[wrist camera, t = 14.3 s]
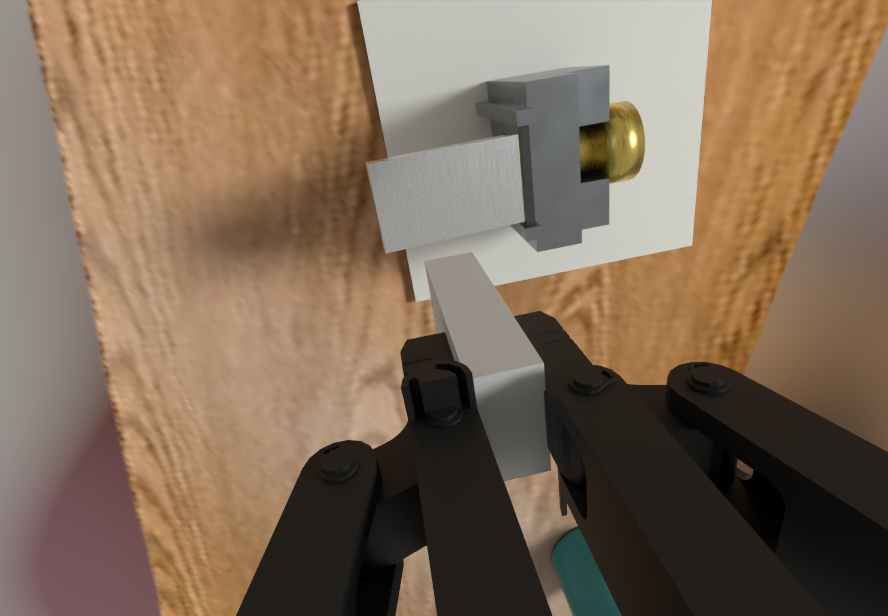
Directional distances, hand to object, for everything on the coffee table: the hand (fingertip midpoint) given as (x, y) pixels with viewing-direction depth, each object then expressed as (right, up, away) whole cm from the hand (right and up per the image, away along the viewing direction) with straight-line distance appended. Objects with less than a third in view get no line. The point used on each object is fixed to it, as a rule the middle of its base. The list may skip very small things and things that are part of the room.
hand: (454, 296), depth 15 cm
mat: (+8, +13, +23) cm, 27 cm away
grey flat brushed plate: (+4, +7, +13) cm, 16 cm away
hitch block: (+6, +12, +23) cm, 26 cm away
